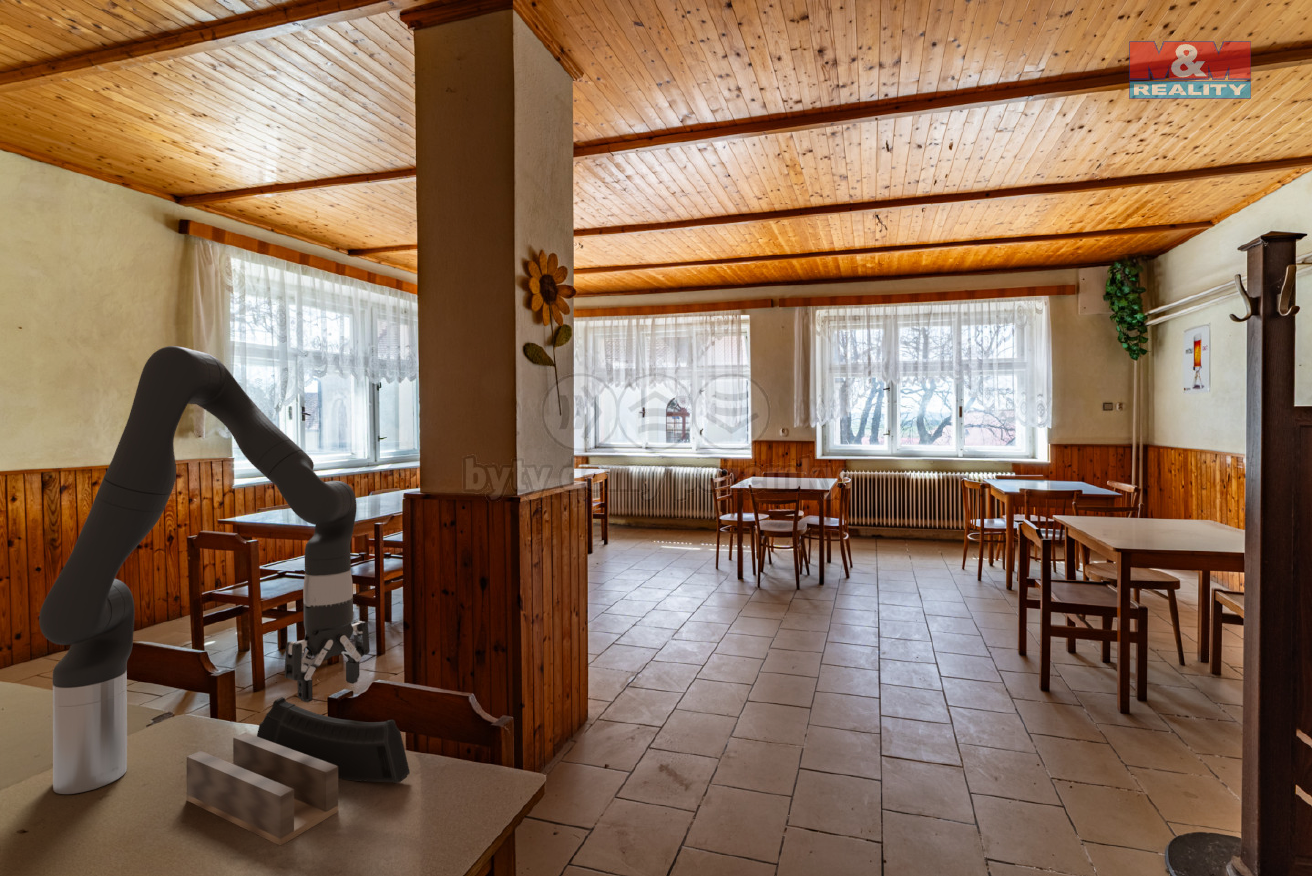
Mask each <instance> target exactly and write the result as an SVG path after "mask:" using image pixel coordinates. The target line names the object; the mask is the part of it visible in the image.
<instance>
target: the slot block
mask: <svg viewBox="0 0 1312 876" xmlns="http://www.w3.org/2000/svg"><path fill="white" fill-rule="evenodd" d="M232 742H233V743H232V744H233V745H232V747H233V749H232V751H233V755H232V758H233V759H232V763H231V762H229V761H227V760H224V759H221V758H219V757H217V756H214V755H212V754H209V753H207V752H204V751H202V750H198V751H197V752H195V753H194V752H193V753H192V754H190V755H187V756H186V801H187V802H189V803H192V804H194V805H195V806H197V807H199V808H200V809H203V810H205V811H208V812H209V813H211V814H214V815H216V816H218V817H220V818H222V819H224V820H226V821H228V822H230V823H232V824H234V825H236V826H238V827H241V828H242V829H245V830H247V831H249V832H250V833H251V832H252V833H253V834H255V835H257V836H259V837H261V838H264V839H265V840H268V841H270V842H272V843H274V844H276V845H278V846H279V847H280V846H283V845H285V844H286V843H288V842H289V841H292V840H294V838H296V837H298V836H301V834H303V833H304V832H306V831H308V830H309V829H312V828H313V827H315V826H316V825H318V824H320V823H321V822H323V821H325V820H327V819H329V818H330V817H331V816H333V815H335V814H336V813H338V812H339V779H338V766H336V765H333V764H331V763H328V762H325V761H323V760H320V759H317V758H314V757H312V756H309V755H306V754H303V753H301V752H298V751H295V750H292V749H290V748H287V747H284V746H281V745H279V744H276V743H273V742H271V741H268V740H265V739H262V738H260V737H257V735H254V734H250V733H248V732H243V733H240V734H238V735H236V736H233V738H232Z"/></svg>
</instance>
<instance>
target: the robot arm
mask: <svg viewBox="0 0 1312 876" xmlns="http://www.w3.org/2000/svg"><path fill="white" fill-rule="evenodd" d="M134 394H135V395H134V398H133V401H132V406H131V408H130V413H129V415H128V419H127V422H126V423H125V427H124V429H123V432H122V434H121V436H120V439H119V441H118V445H117V446H116V449H115V452H114V454H113V457H112V459H111V462H110V464H109V466H108V467H107V469H106V472H105V474H104V476H103V478H102V481H101V483H100V486H99V488H98V489H97V492H96V494H95V497H94V500H93V503H92V506H91V509H90V510H89V512H88V515H87V518H86V519H85V522H84V524H83V526H82V528H81V531H80V533H79V534H78V538H77V540H76V543H75V545H74V547H73V550H72V552H71V553H70V555H69V557H68V559H67V561H66V563H65V564H64V566H63V568H62V570H61V571H60V573H59V575H58V577H57V578H56V579H55V581H54V584H53V585H52V587H51V588H50V590H49V592H48V593H47V596H45V597H46V598H45V599H44V601H43V603H42V606H41V608H40V611H39V616H38V619H39V628H40V631H41V634H42V635H43V636H44V637H45V639H47V640H48V641H49V642H51V643H53V644H54V645H55V644H56V645H60V646H63V645H64V646H68V645H69V646H70V647H69V649H68V651H67V652H66V654H65V655H64V656H63V657H62V658H61V659H60V660H59V661H58V662H57V663H56V665H55V666H54V667H53V670H52V789H53V792H54V793H56V794H60V795H73V794H79V793H84V792H89V791H92V790H96V789H99V788H102V787H104V786H107V785H108V784H111V783H113V782H115V781H117V780H119V779H120V778H121V777H122V776H124V775H125V774H126V772H127V770H128V767H127V766H128V681H127V680H128V679H127V676H128V675H127V673H128V672H127V671H128V670H127V669H128V668H127V665H128V664H127V663H128V660H129V658H130V656H131V653H132V650H133V645H134V630H135V601H134V596H133V593H132V591H131V589H130V588H129V586H128V585H127V584H126V583H125V582H123V581H122V580H120V579H117V578H116V577H117V574H118V573H119V570H121V567H122V565H123V564H124V563H125V562H126V560H127V559H128V557H129V556H130V555H131V554H132V552H133V551H134V550H135V549H137V547H138V546H139V545H140V544H141V542H142V541H143V540H144V539H145V538H146V537H147V535H148V534H149V533H150V532H151V531H152V529H153V528H154V527H155V526H156V524H157V523H158V521H159V520H160V518H161V516H162V515H163V513H164V511H165V509H166V506H167V504H168V501H169V499H170V497H171V495H172V492H173V490H174V486H175V483H176V480H177V479H176V478H177V469H176V468H177V466H176V457H175V451H174V450H175V448H174V446H175V445H174V442H175V441H174V440H175V434H176V430H177V428H178V425H179V424H180V423H179V422H180V420H181V418H182V417H183V414H184V412H185V409H186V407H187V406H188V405H196V406H198V407H200V408H201V409H203V410H205V411H207V412H208V413H209V414H211V415H212V416H214V417H215V418H216V419H217V420H218V421H220V422H221V423H222V424H223V425H224V427H225V428H227V430H228V431H229V432H230V434H231V435H232V437H233V439H234V442H235V443H236V444H237V446H238V449H239V450H240V451H241V453H242V454H243V456H244V457H245V458H246V459H247V460H248V461H249V463H250V464H251V465H252V466H254V468H255V469H257V470H258V471H259V472H260V473H261V474H262V475H263V476H264V477H265V478H266V479H268V480H269V481H270V482H271V483H272V484H274V485H275V486H276V489H278V492H279V493H280V494H281V497H282V498H283V499H284V501H285V502H286V503H287V505H288V506H289V508H290V509H291V510H292V511H293V512H294V514H295V515H296V516H297V517H299V518H300V519H301V520H303V521H305V522H306V523H308V524H311V525H314V526H315V527H314V532H313V535H312V537H311V538H310V539H309V540H308V541H307V543H306V544H305V546H304V547H305V548H304V582H303V586H302V587H303V590H302V592H303V627H304V630H305V636H304V638H303V639H302V640H297V641H293V640H292V641H291V640H288V641H287V642H286V644H285V655H284V658H285V659H284V678H285V679H289V680H292V681H296V682H297V698H298V700H299V699H300V701H301V702H304V703H309V702H312V701H313V700H314V699H313V695H314V694H313V679H312V677H313V675H314V673H315V671H316V669H317V668H319V667H320V666H321V664H322V663H323V661H326V660H329V659H330V658H332V657H335V656H336V657H337V656H341V655H342V656H344V657H345V659H347V660H346V661H345V681H346V683H347V684H356V683H358V681H359V680H358V679H359V678H360V674H361V673H360V661H361V659H362V657H363V656H365V655H369V653H370V650H371V649H370V648H371V647H370V634H369V633H370V631H369V623H368V622H366V621H362V620H355V621H354V622H353V620H354V606H353V605H354V602H353V601H354V597H353V596H354V595H353V591H354V590H353V584H354V583H353V577H352V569H351V568H352V567H351V566H352V565H351V563H352V560H351V554H352V553H351V541H352V537H353V533H354V529H355V522H356V516H357V509H358V508H357V498H356V494H355V492H354V490H353V488H352V487H351V486H350V485H349V484H348V483H346V482H343V481H340V480H330V481H324V480H322V479H321V478H320V477H319V476H318V475H317V473H316V472H315V471H314V466H315V465H314V462H313V460H312V458H311V457H310V456H309V454H307V453H306V451H304V450H303V449H302V448H301V447H300V446H299V445H298V444H297V443H295V441H293V440H292V439H291V438H290V437H289V436H288V435H287V434H285V433H284V432H283V431H282V430H281V429H280V428H279V427H278V426H277V425H276V424H274V422H273V421H272V420H271V419H270V418H269V417H267V415H266V414H265V413H264V412H263V411H262V409H260V408H259V406H258V405H256V403H255V402H254V401H253V400H252V399H251V398H250V396H249V395H248V394H247V392H245V390H244V389H243V388H242V386H241V385H240V384H239V382H238V381H237V380H236V378H235V377H234V375H232V373H231V372H230V371H229V369H228V368H227V366H225V365H224V364H223V363H222V361H220V360H219V359H218V358H217V357H215V356H213V355H212V354H210V353H206V352H204V351H200V350H195V349H190V348H188V347H182V346H179V345H178V346H175V345H172V346H171V345H169V346H164V347H162V348H159V349H157V350H156V351H155V352H153V353H152V354H151V356H150V357H149V358H148V359H147V360H146V362H145V363H144V366H143V369H142V371H141V374H140V377H139V380H138V384H137V387H136V391H135V393H134ZM352 622H353V623H352ZM352 636H353V640H354V643H352V642H351V641H350V639H351V638H352ZM353 644H354V645H353ZM305 649H306V651H305ZM313 657H314V658H313ZM312 658H313V659H312Z"/></svg>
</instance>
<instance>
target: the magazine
mask: <svg viewBox="0 0 1312 876" xmlns="http://www.w3.org/2000/svg"><path fill="white" fill-rule="evenodd" d="M257 729H258V730H257V734H256V736H257V737H260V738H262V739H265V740H268V741H271V742H273V743H276V744H279V745H281V746H284V747H287V748H290V749H292V750H295V751H298V752H301V753H303V754H306V755H309V756H312V757H314V758H317V759H320V760H323V761H325V762H328V763H331V764H333V765H336V766H338V780H346V781H356V782H372V783H373V782H375V783H377V782H378V783H394V784H398V783H401V782H403V781H404V780H405V779H407V777H408V776H409V775H410V773H411V772H410V771H411V770H410V767H409V762H408V760H407V755H406V749H405V745H404V741H403V738H402V737H403V736H402V733H401V730H400V729H399V728H398V726H397V724H396V721H395V720H394V719H388V720H386V721H375V722H371V721H370V722H368V721H361V720H360V721H359V720H351V719H344V718H343V719H341V718H337V717H332V716H328V715H324V714H320V713H316V712H312V711H310V710H307V709H305V708H302V707H299V706H297V705H296V704H295V703H291V702H289V701H286V698H285V697H284V696H283V697H279V698H277V699H275V700H274V701H273V703H272V707H271V708H270V710H269V711H268V712H267V713H266V714H265V716H264V718H263V721H262V722H261V723H259V726H258V728H257Z"/></svg>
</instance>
